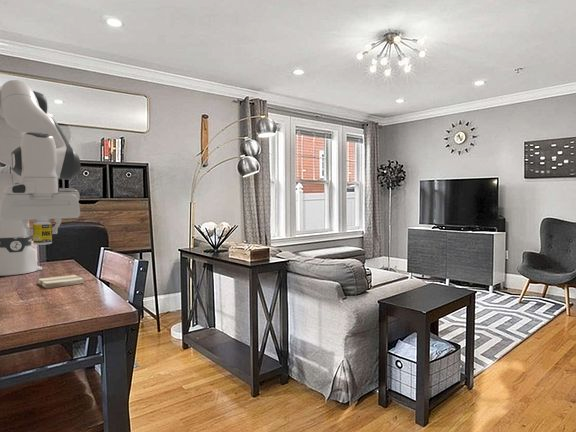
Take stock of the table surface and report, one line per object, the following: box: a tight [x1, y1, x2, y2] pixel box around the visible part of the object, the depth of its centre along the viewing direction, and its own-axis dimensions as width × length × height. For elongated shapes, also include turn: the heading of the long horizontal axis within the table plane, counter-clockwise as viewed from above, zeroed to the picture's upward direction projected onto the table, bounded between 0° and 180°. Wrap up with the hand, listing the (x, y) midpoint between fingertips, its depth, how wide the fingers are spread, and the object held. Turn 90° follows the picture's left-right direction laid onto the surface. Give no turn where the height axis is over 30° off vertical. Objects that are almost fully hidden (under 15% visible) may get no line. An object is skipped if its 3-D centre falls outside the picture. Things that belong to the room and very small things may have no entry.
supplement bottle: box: [32, 216, 53, 246], centre depth 116 cm, size 5×5×8 cm
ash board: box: [37, 273, 85, 290], centre depth 134 cm, size 12×11×2 cm
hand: (42, 234), depth 117 cm, fingers closed on supplement bottle, 5 cm apart
